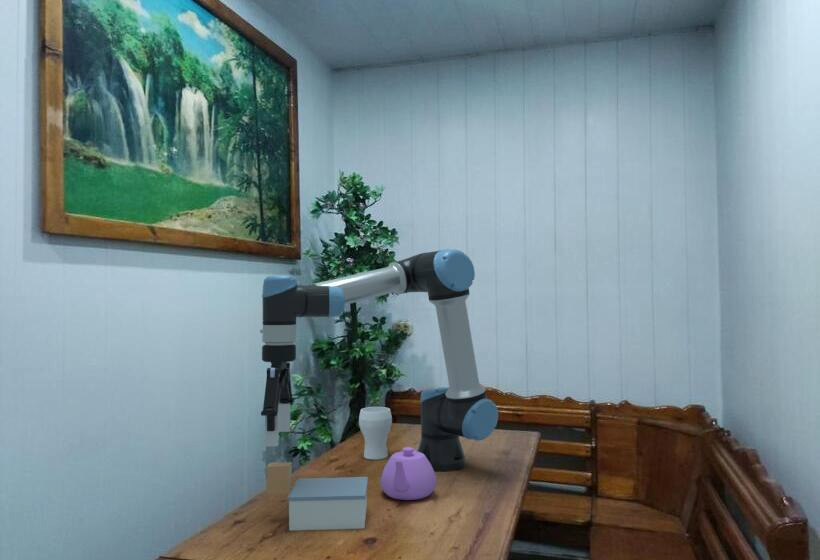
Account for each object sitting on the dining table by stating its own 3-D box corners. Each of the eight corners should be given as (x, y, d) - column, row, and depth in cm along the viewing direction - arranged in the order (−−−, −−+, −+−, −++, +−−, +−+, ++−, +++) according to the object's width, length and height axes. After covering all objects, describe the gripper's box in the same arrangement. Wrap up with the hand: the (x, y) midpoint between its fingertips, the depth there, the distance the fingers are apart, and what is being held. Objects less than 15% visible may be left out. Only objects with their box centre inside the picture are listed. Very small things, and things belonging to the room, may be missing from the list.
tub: (366, 510, 127) (366, 480, 127) (364, 532, 115) (364, 498, 115) (298, 512, 126) (298, 482, 126) (289, 534, 114) (289, 500, 114)
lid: (367, 480, 127) (367, 454, 128) (365, 499, 115) (365, 470, 115) (274, 482, 126) (274, 456, 127) (261, 502, 114) (261, 473, 114)
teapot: (426, 515, 124) (425, 462, 124) (368, 510, 127) (367, 458, 128) (442, 486, 143) (442, 440, 143) (392, 483, 146) (391, 438, 147)
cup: (387, 461, 166) (387, 413, 167) (355, 460, 168) (354, 412, 169) (395, 452, 177) (395, 406, 177) (364, 451, 179) (364, 405, 180)
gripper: (274, 340, 134) (273, 426, 133) (248, 347, 109) (246, 453, 108) (304, 340, 134) (303, 426, 133) (285, 347, 109) (284, 452, 108)
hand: (278, 438), depth 121 cm, fingers open, 13 cm apart
